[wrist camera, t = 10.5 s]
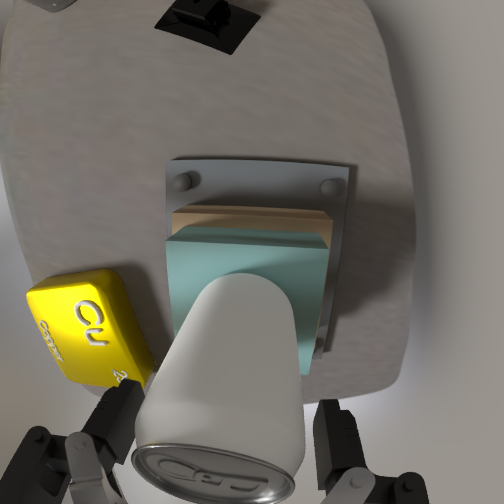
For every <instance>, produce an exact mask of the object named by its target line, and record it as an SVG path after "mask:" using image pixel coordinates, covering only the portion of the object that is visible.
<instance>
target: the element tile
mask: <svg viewBox="0 0 504 504" xmlns="http://www.w3.org/2000/svg"><path fill="white" fill-rule="evenodd" d="M27 302H28V305H29V307H30V309H31V312H32V314H33V316H34V319H35V321H36V323H37V325H38V327H39V329H40V331H41V334H42V336H43V338H44V340H45V341H46V343H47V345H48V347H49V349H50V351H51V353H52V355H53V357H54V358H55V360H56V362H57V364H58V365H59V367H60V369H61V370H62V372H63V373H64V374H65V376H66V377H67V378H68V379H69V380H71V381H73V382H76V383H81V384H87V385H93V386H100V387H108V388H111V387H112V386H116V387H118V386H119V384H120V382H121V381H122V379H124V378H127V379H131V380H136V381H139V382H140V383H141V386H142V389H143V388H144V387H145V385H146V383H147V381H148V379H149V377H150V376H151V374H152V372H153V370H154V368H155V363H154V360H153V358H152V355H151V353H150V351H149V349H148V346H147V344H146V342H145V339H144V337H143V335H142V332H141V330H140V327H139V325H138V322H137V320H136V317H135V315H134V312H133V309H132V307H131V304H130V301H129V299H128V296H127V293H126V290H125V287H124V284H123V282H122V280H121V279H120V277H119V276H118V275H117V274H116V273H115V272H114V271H112V270H109V269H105V268H103V269H97V270H91V271H85V272H79V273H73V274H67V275H61V276H55V277H49V278H46V279H44V280H43V281H41V282H40V283H38V284H36V285H35V286H33V287H32V288H30V289H29V290H28V292H27Z"/></svg>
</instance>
